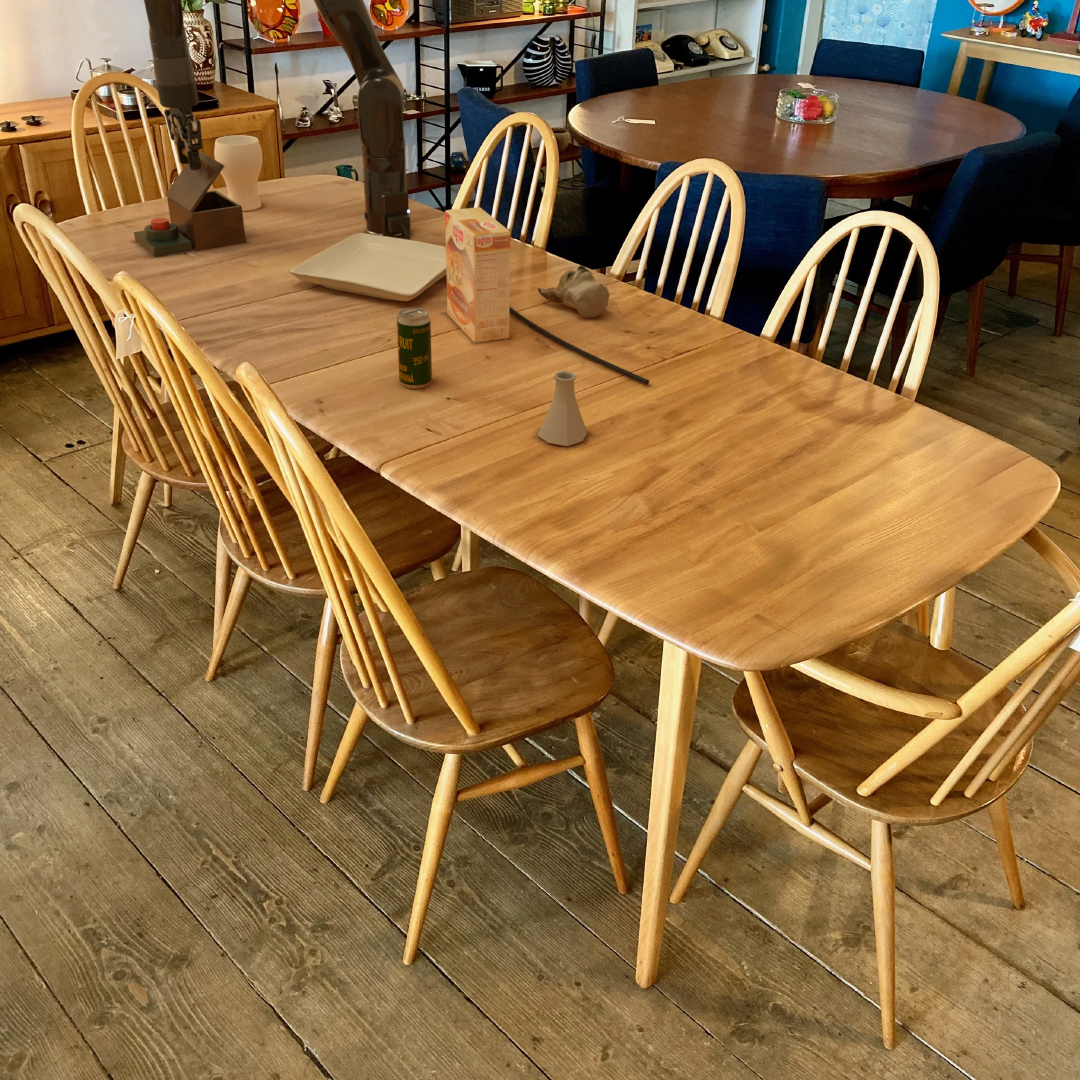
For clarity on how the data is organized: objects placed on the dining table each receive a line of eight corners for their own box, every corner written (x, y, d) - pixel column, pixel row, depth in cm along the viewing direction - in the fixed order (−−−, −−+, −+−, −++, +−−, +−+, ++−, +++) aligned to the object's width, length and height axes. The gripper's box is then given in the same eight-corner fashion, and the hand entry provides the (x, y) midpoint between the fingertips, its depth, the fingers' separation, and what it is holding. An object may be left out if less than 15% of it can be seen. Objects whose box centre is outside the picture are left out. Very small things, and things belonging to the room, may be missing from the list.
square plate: (288, 288, 216) (286, 269, 213) (359, 248, 237) (358, 230, 235) (412, 311, 207) (411, 291, 205) (473, 267, 229) (473, 249, 227)
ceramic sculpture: (577, 279, 199) (534, 259, 210) (576, 326, 203) (534, 304, 214) (626, 271, 204) (581, 252, 215) (623, 317, 208) (580, 296, 219)
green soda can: (416, 373, 184) (413, 304, 178) (439, 382, 182) (437, 313, 175) (392, 382, 181) (389, 313, 174) (415, 392, 178) (413, 322, 172)
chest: (220, 225, 247) (216, 190, 242) (246, 242, 238) (241, 206, 233) (172, 233, 241) (166, 197, 237) (196, 251, 232) (191, 213, 228)
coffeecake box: (445, 313, 207) (443, 209, 196) (481, 309, 209) (481, 206, 199) (473, 343, 196) (472, 234, 185) (510, 338, 198) (512, 230, 187)
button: (172, 230, 232) (171, 221, 231) (155, 232, 230) (154, 224, 229) (166, 225, 234) (165, 216, 233) (149, 228, 233) (148, 219, 232)
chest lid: (199, 151, 236) (179, 136, 233) (224, 166, 227) (205, 150, 223) (168, 196, 237) (148, 182, 233) (192, 213, 228) (172, 198, 224)
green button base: (192, 250, 232) (190, 231, 230) (155, 257, 228) (152, 238, 226) (171, 235, 240) (169, 216, 238) (135, 241, 236) (132, 222, 234)
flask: (556, 420, 171) (558, 360, 166) (595, 433, 168) (599, 373, 163) (529, 437, 166) (530, 376, 161) (569, 451, 163) (572, 390, 158)
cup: (256, 214, 254) (248, 147, 246) (213, 210, 256) (204, 143, 248) (274, 202, 263) (268, 136, 255) (233, 198, 265) (225, 133, 257)
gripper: (207, 83, 218) (221, 171, 227) (180, 71, 227) (194, 156, 237) (170, 88, 214) (186, 177, 223) (144, 75, 224) (160, 161, 233)
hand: (190, 165), depth 230 cm, fingers closed on chest lid, 5 cm apart
